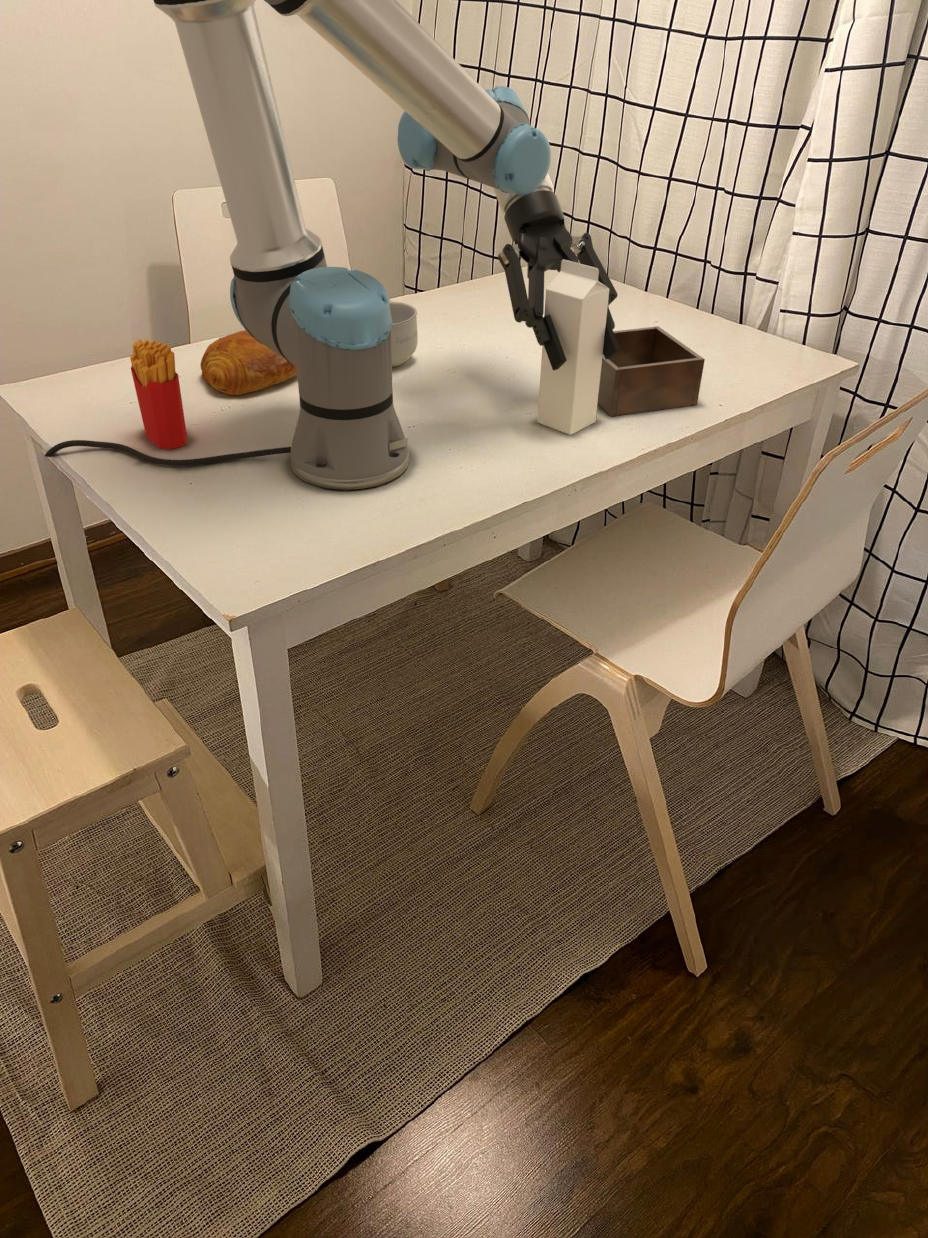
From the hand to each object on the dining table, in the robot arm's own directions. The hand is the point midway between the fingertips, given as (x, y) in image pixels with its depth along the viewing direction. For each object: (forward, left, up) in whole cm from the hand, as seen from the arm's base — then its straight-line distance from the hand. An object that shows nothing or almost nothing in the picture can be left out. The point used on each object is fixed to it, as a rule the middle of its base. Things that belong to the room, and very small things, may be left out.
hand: (586, 359), depth 128 cm
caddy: (+13, +10, -10) cm, 20 cm away
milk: (-1, +3, -11) cm, 11 cm away
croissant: (-41, +32, -11) cm, 53 cm away
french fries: (-55, +14, -11) cm, 57 cm away
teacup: (-19, +34, -11) cm, 40 cm away
